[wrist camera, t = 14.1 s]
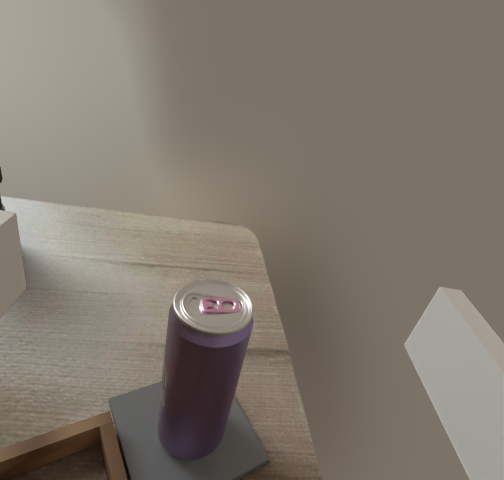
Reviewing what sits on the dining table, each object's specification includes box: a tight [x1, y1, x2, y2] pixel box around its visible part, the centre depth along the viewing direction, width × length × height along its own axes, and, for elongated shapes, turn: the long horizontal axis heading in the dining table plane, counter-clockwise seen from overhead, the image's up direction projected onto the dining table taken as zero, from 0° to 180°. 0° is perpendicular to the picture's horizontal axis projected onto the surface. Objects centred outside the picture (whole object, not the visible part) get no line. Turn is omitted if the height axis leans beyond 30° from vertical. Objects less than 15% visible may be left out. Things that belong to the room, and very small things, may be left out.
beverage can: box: [157, 278, 253, 460], centre depth 28 cm, size 6×6×15 cm
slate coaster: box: [109, 382, 270, 480], centre depth 32 cm, size 11×11×1 cm
